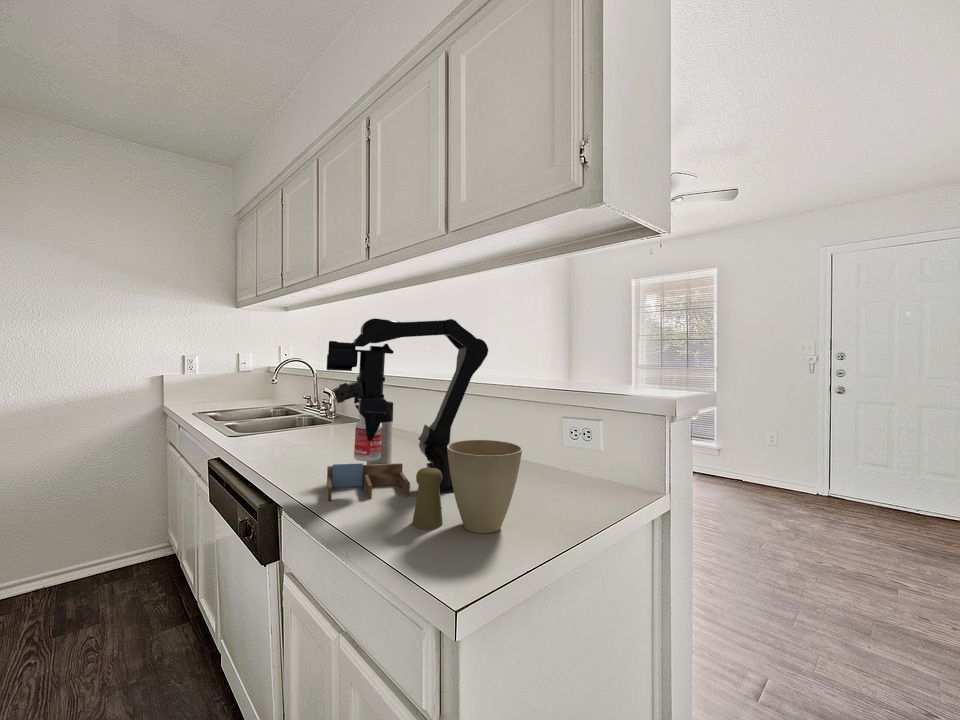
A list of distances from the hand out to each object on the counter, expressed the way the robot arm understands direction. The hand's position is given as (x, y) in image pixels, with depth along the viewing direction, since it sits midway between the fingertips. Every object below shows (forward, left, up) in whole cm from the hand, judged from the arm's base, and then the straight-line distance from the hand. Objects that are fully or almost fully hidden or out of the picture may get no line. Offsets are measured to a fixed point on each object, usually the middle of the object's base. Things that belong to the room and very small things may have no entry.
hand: (368, 437), depth 109 cm
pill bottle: (0, 0, -5) cm, 5 cm away
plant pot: (-20, +26, -14) cm, 35 cm away
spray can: (-5, -16, -14) cm, 21 cm away
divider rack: (0, -2, -13) cm, 13 cm away
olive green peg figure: (-10, +22, -14) cm, 28 cm away
